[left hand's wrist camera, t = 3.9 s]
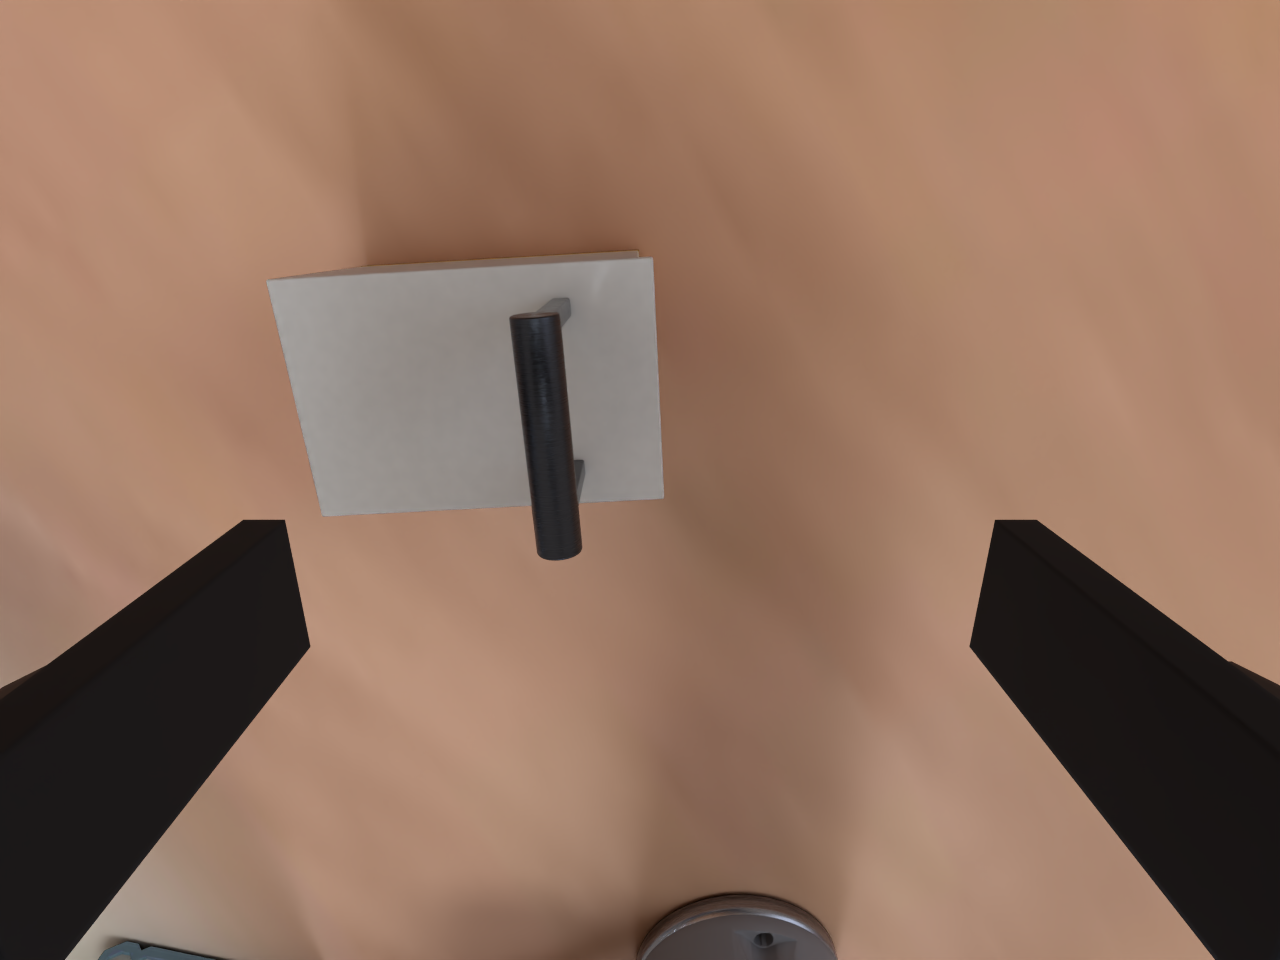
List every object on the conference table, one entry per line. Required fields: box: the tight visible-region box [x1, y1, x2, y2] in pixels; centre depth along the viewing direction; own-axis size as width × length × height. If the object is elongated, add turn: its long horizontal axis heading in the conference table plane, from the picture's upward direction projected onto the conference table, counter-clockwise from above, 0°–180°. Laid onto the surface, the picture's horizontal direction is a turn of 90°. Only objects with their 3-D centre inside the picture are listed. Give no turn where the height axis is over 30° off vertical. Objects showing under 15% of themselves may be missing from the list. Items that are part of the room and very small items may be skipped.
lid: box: [266, 256, 664, 560], centre depth 23 cm, size 14×10×8 cm
